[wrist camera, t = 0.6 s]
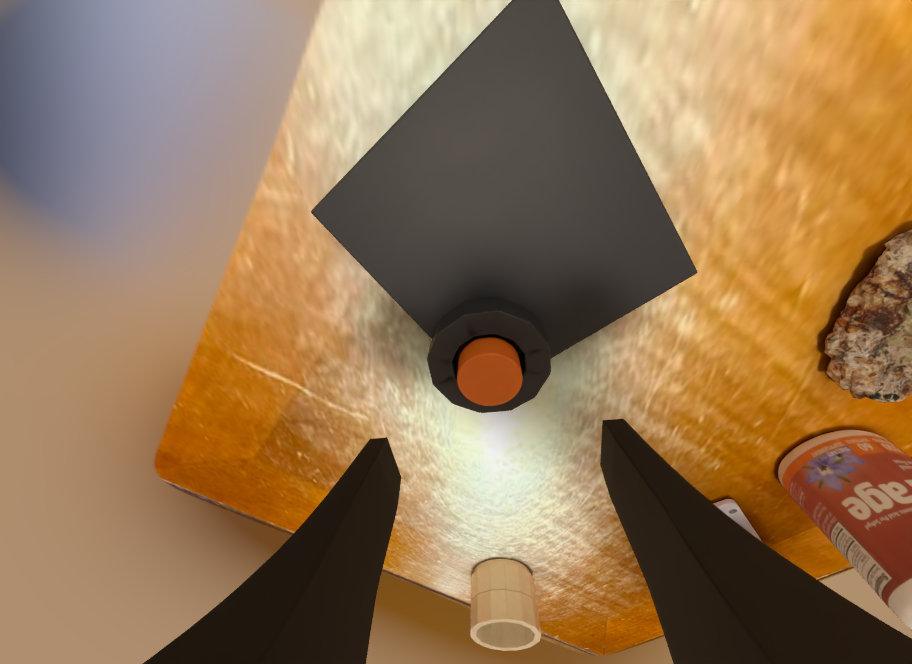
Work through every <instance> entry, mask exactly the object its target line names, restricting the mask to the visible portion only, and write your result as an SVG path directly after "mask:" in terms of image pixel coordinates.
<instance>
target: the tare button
mask: <svg viewBox="0 0 912 664" xmlns="http://www.w3.org/2000/svg"><path fill="white" fill-rule="evenodd" d="M522 381H523V376H522V371H521V366H520V361H519V356H518V353H517V352H516V350H515V349H514V347H513V346H512V345H510V344H509V343H508V342H506V341H504V340H502V339H499V338H495V337H484V338H479V339H476V340H474V341H472V342H470V343H469V344H468V345H467V346H466V347H465V348H464V349H463V350H462V352H461V354H460V356H459V362H458V373H457V384H458V387H459V389H460V391H461V392H462V394H463V395H464V396H465V397H466V398H467V399H469V400H470V401H472V402H474V403H476V404H479V405H484V406H495V405H500V404H503V403H506V402H508V401H509V400H511V399H512V398H514V397H515V396H516V395H517V393H518V392H519V390H520V388H521V386H522Z"/></svg>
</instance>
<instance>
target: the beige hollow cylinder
mask: <svg viewBox="0 0 912 664" xmlns="http://www.w3.org/2000/svg"><path fill="white" fill-rule="evenodd" d="M470 635H471V638H472V639H473V640H474V641H475V642H476V643H478V644H480V645H482V646H485V647H487V648H490V649H497V650H504V651H507V650H521V649H525V648H529V647H532V646H533V645H535V644H536V643H538V642H539V640H540V637H541V629H540V622H539V614H538V606H537V599H536V591H535V584H534V578H533V577H532V575H531V574H530V572H529V570H528V568H527V567H526V566H524V565H523V564H521V563H519V562H517V561H513V560H508V559H493V560H488V561H485V562H483V563H481V564H479V565H478V566H477V567H476V568H475V570H474V573H473V574H472V575H471V632H470Z"/></svg>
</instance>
